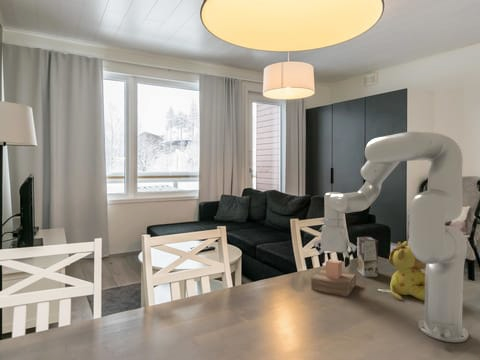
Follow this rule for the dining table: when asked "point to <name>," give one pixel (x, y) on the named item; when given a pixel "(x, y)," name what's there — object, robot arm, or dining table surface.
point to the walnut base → (334, 283)
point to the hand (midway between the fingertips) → (334, 264)
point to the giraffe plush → (406, 273)
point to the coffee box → (367, 256)
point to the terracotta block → (333, 269)
